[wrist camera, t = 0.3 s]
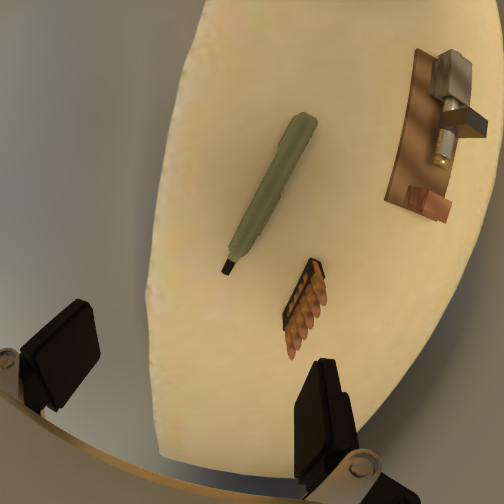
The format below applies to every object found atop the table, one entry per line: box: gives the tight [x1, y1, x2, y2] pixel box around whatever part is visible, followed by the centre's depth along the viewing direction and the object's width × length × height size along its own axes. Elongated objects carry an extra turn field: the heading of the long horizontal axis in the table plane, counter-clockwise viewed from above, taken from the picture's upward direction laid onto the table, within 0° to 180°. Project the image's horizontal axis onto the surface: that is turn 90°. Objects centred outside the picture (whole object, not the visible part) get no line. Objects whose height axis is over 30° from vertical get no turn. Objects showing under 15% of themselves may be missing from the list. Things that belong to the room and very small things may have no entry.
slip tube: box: [432, 50, 488, 171], centre depth 23 cm, size 20×4×8 cm, turn 165°
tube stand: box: [384, 48, 472, 224], centre depth 28 cm, size 26×10×7 cm, turn 165°
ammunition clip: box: [283, 258, 327, 360], centre depth 36 cm, size 11×2×12 cm, turn 159°
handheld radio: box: [221, 112, 318, 275], centre depth 35 cm, size 7×3×25 cm
